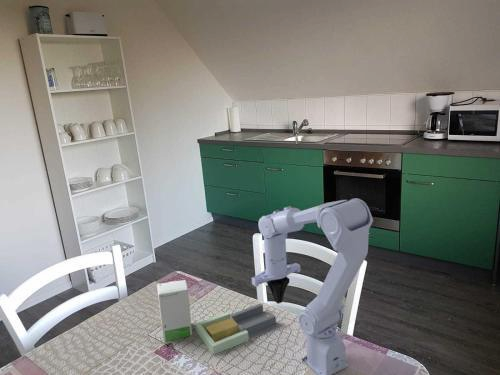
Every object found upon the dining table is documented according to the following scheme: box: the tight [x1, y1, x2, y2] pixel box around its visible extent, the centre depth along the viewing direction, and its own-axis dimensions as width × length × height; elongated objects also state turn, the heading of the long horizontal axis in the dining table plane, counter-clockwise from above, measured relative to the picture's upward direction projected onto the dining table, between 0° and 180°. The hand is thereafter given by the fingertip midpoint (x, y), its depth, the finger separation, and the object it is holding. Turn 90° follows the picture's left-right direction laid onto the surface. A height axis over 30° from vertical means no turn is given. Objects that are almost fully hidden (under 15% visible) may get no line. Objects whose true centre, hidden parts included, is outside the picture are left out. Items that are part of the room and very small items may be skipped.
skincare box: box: [156, 279, 193, 345], centre depth 112 cm, size 8×7×16 cm
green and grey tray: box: [194, 303, 280, 355], centre depth 113 cm, size 12×20×4 cm, turn 119°
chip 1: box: [206, 322, 226, 342], centre depth 110 cm, size 4×4×3 cm
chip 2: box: [219, 318, 240, 338], centre depth 112 cm, size 4×4×3 cm
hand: (278, 301), depth 111 cm, fingers closed
